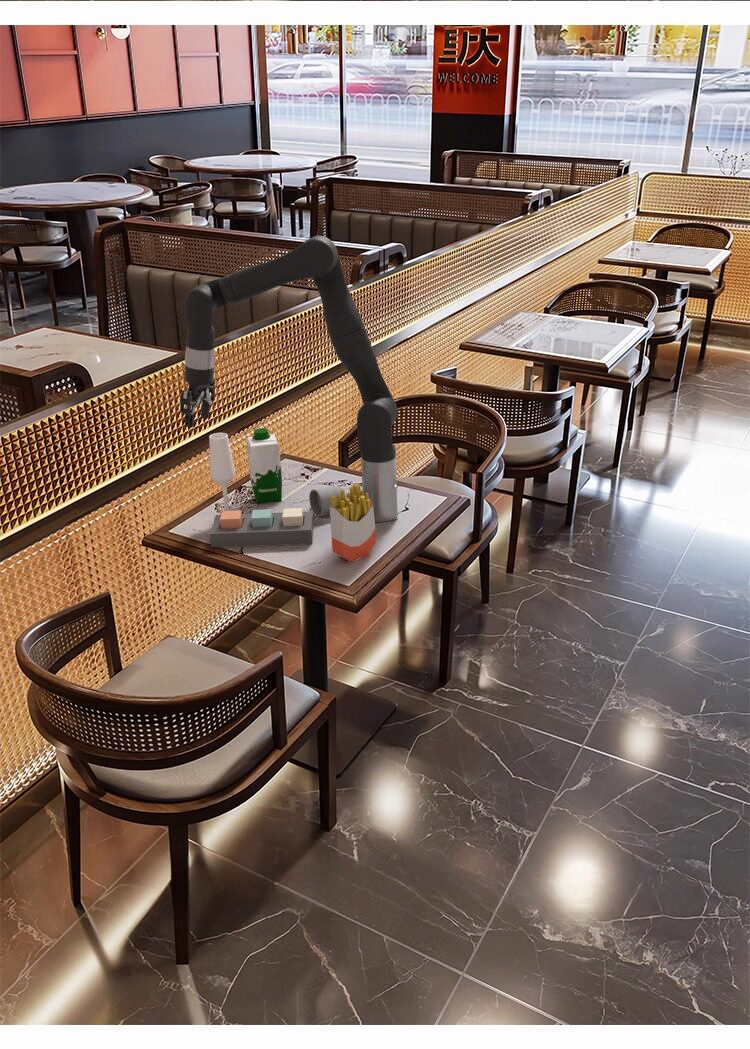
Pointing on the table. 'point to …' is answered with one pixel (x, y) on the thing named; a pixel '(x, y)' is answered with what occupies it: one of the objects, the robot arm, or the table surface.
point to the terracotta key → (231, 519)
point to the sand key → (292, 517)
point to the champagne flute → (221, 463)
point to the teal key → (262, 518)
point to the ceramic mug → (323, 499)
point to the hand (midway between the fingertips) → (197, 422)
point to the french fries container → (352, 524)
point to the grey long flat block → (263, 533)
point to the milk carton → (265, 467)
